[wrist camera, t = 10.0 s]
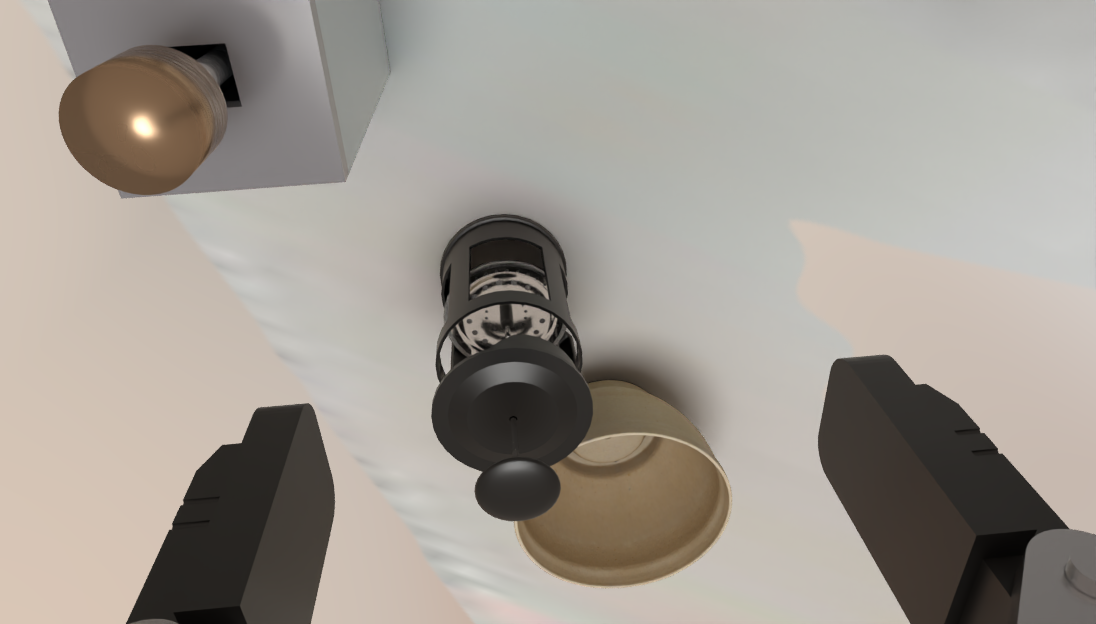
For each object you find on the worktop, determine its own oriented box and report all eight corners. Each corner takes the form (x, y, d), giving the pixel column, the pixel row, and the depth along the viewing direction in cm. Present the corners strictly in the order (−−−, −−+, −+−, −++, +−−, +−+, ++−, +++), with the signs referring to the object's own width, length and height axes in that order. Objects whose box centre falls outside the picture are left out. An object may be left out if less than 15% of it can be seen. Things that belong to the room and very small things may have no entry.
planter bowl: (523, 335, 59) (532, 424, 49) (717, 354, 61) (760, 442, 52) (496, 485, 67) (500, 586, 57) (669, 496, 69) (699, 594, 60)
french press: (406, 266, 54) (367, 492, 35) (498, 181, 52) (511, 376, 32) (516, 358, 60) (536, 601, 40) (605, 286, 57) (674, 509, 37)
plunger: (337, -56, 42) (202, 23, 21) (356, 54, 45) (255, 216, 24) (229, -50, 42) (-14, 37, 21) (256, 60, 45) (67, 230, 24)
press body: (365, -92, 42) (296, -63, 26) (390, 72, 47) (345, 181, 31) (201, -82, 42) (30, -48, 26) (243, 82, 47) (121, 198, 31)
